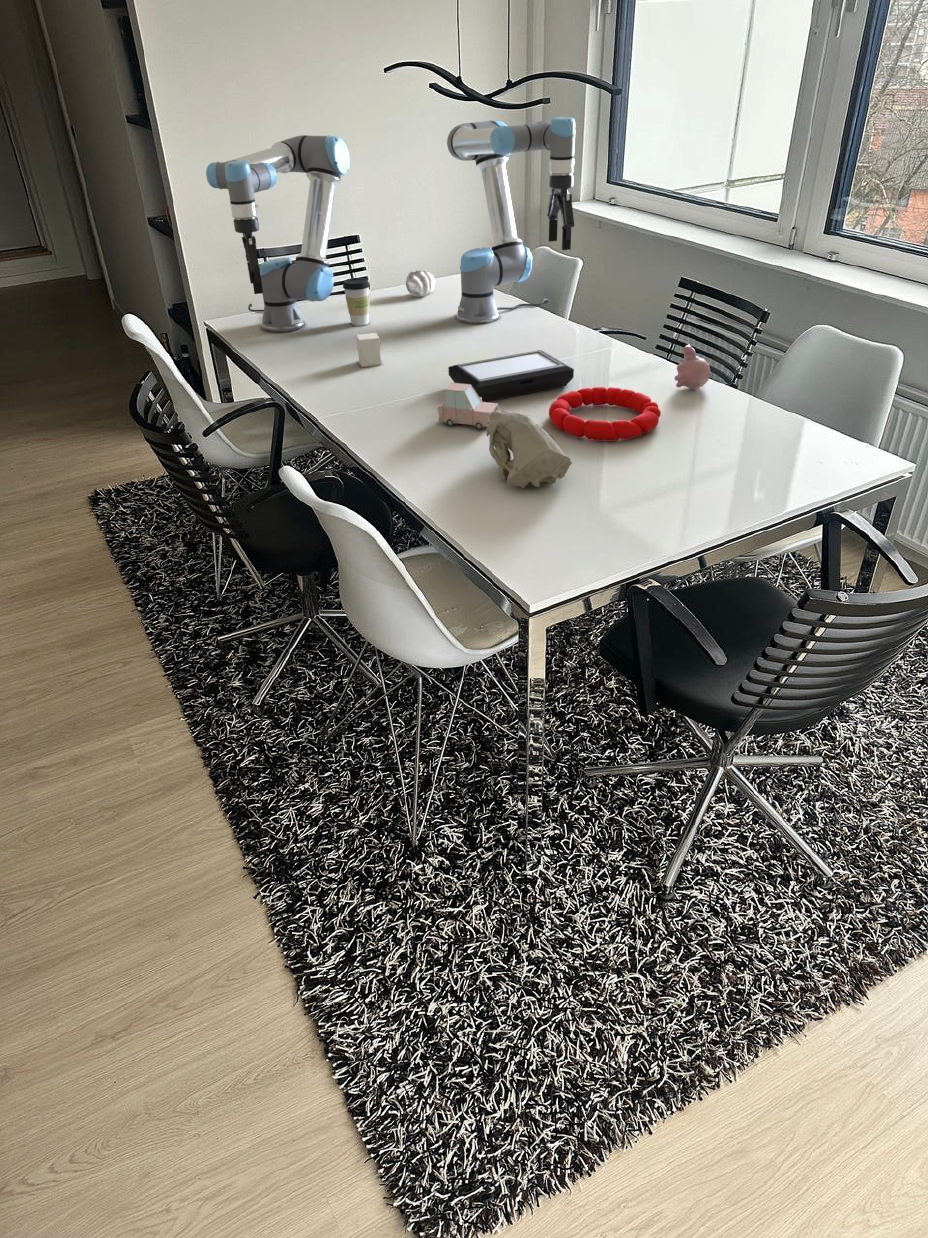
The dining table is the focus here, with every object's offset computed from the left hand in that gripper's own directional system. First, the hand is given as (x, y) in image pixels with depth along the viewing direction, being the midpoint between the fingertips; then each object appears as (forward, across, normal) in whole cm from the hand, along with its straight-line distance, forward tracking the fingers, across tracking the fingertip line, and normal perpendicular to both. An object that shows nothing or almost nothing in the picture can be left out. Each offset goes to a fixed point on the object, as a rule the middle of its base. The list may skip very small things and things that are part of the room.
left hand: (256, 287), depth 288 cm
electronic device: (+22, -58, -67) cm, 91 cm away
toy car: (+21, -82, -46) cm, 96 cm away
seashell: (+23, +51, -67) cm, 87 cm away
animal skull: (+21, -115, -50) cm, 127 cm away
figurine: (+22, -79, -116) cm, 142 cm away
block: (+22, -21, -31) cm, 43 cm away
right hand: (-7, -16, -98) cm, 100 cm away
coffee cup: (+22, +24, -36) cm, 49 cm away
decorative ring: (+22, -94, -82) cm, 126 cm away
